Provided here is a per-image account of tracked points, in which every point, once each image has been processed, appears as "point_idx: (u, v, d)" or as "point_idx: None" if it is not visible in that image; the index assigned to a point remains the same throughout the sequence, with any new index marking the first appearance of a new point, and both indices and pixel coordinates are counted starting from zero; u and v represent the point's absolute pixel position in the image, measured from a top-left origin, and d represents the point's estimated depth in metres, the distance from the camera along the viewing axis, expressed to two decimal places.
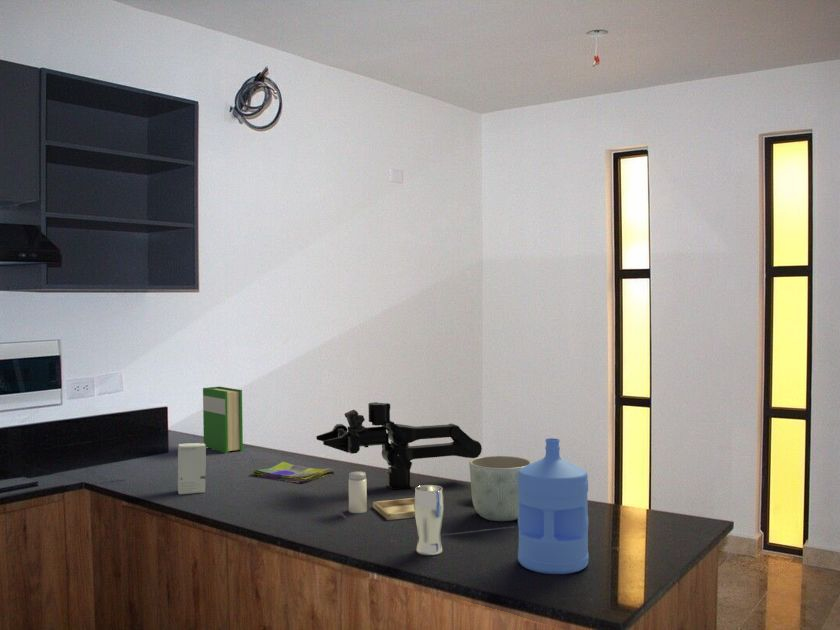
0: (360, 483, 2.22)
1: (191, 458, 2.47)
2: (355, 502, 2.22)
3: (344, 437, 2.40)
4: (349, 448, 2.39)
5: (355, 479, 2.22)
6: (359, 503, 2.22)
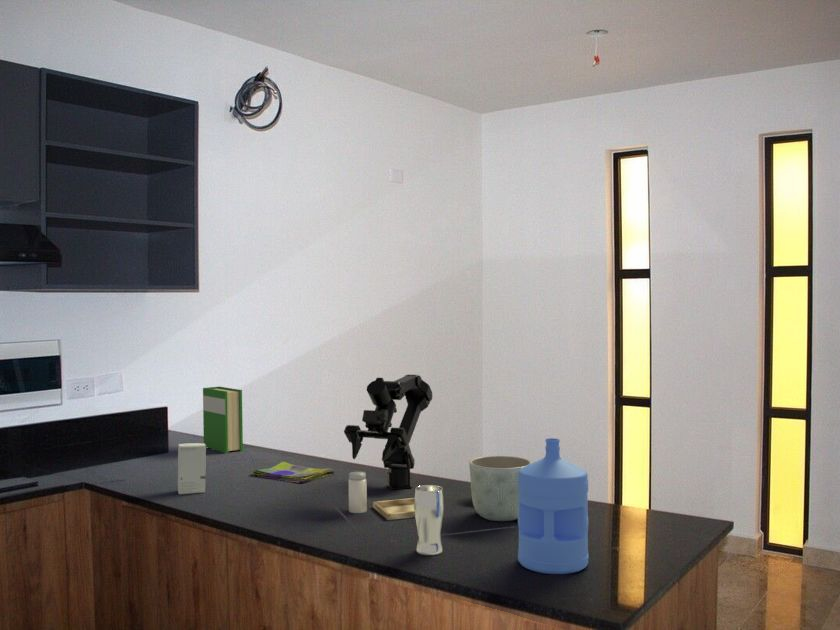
0: (360, 483, 2.22)
1: (191, 458, 2.47)
2: (355, 502, 2.22)
3: (393, 440, 2.31)
4: (401, 443, 2.34)
5: (355, 479, 2.22)
6: (359, 503, 2.22)
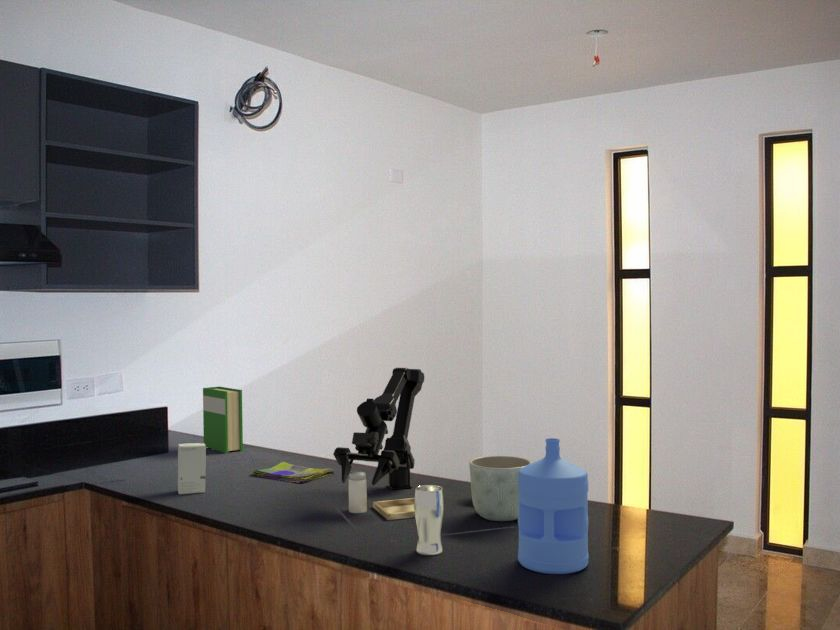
0: (360, 483, 2.22)
1: (191, 458, 2.47)
2: (355, 502, 2.22)
3: (384, 463, 2.25)
4: (392, 467, 2.27)
5: (355, 479, 2.22)
6: (359, 503, 2.22)
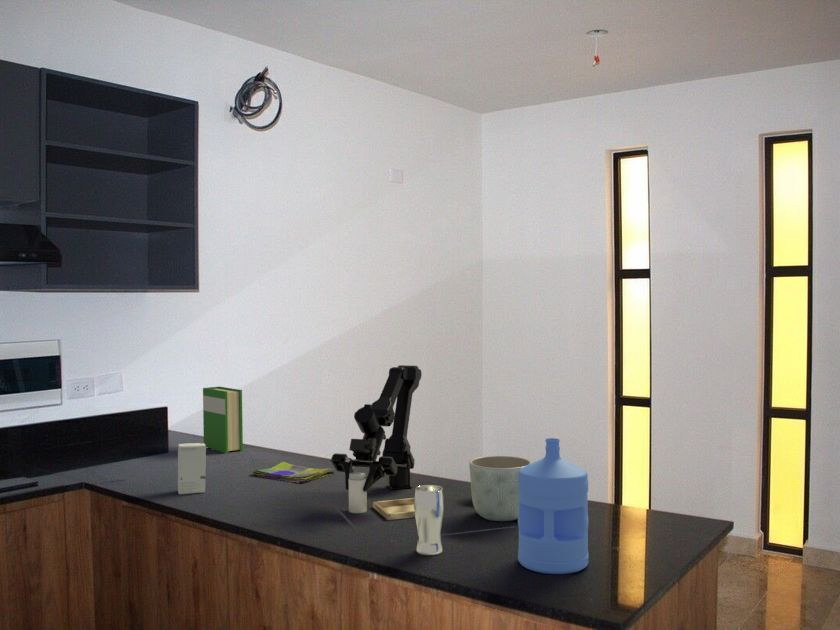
0: (360, 483, 2.22)
1: (191, 458, 2.47)
2: (355, 502, 2.22)
3: (375, 469, 2.24)
4: (384, 472, 2.26)
5: (355, 479, 2.22)
6: (359, 503, 2.22)
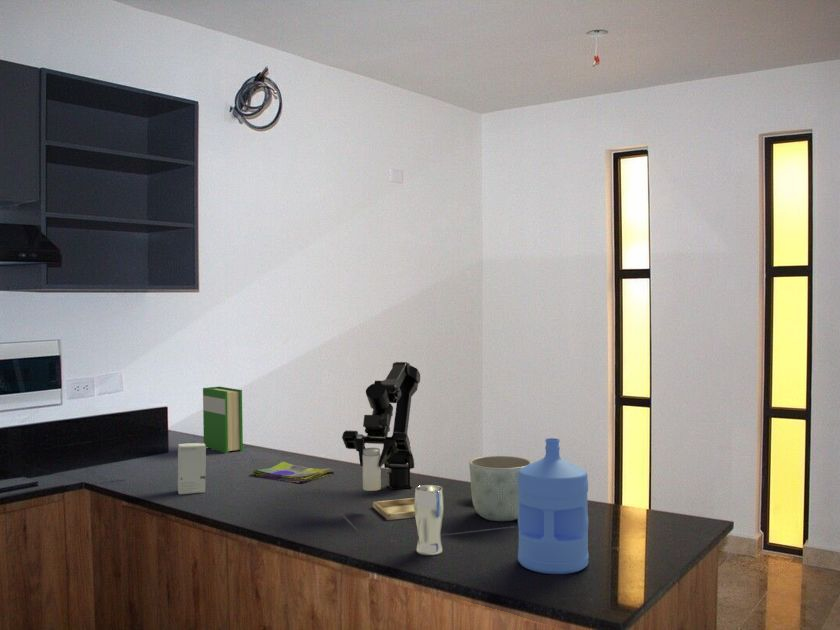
0: (375, 458, 2.21)
1: (191, 458, 2.47)
2: (371, 478, 2.21)
3: (389, 445, 2.24)
4: (396, 448, 2.27)
5: (370, 455, 2.21)
6: (374, 479, 2.21)
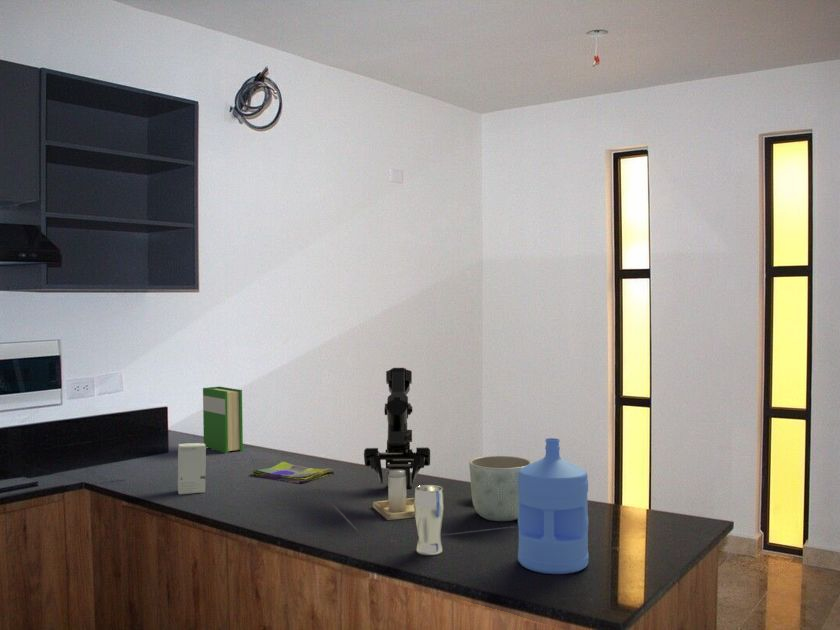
0: (403, 480, 2.22)
1: (191, 458, 2.47)
2: (399, 500, 2.22)
3: None
4: (423, 463, 2.29)
5: (398, 476, 2.22)
6: (402, 500, 2.22)
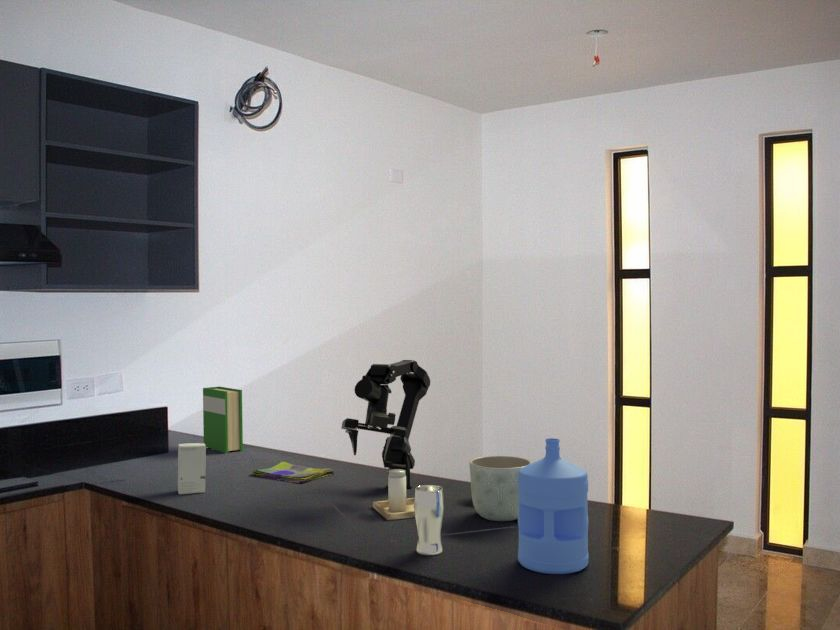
0: (403, 480, 2.22)
1: (191, 458, 2.47)
2: (399, 500, 2.22)
3: None
4: None
5: (398, 477, 2.22)
6: (402, 500, 2.22)
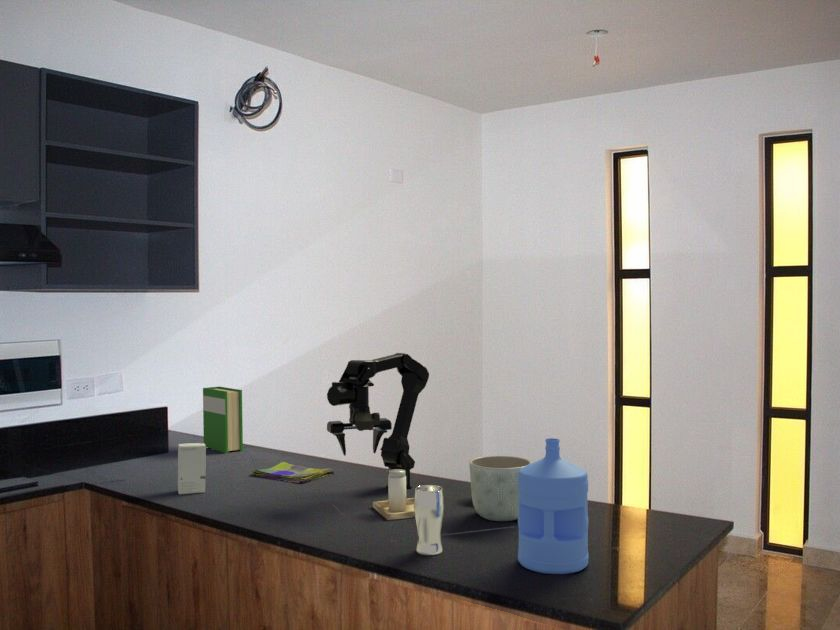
0: (403, 480, 2.22)
1: (191, 458, 2.47)
2: (399, 500, 2.22)
3: None
4: None
5: (398, 477, 2.22)
6: (402, 500, 2.22)
